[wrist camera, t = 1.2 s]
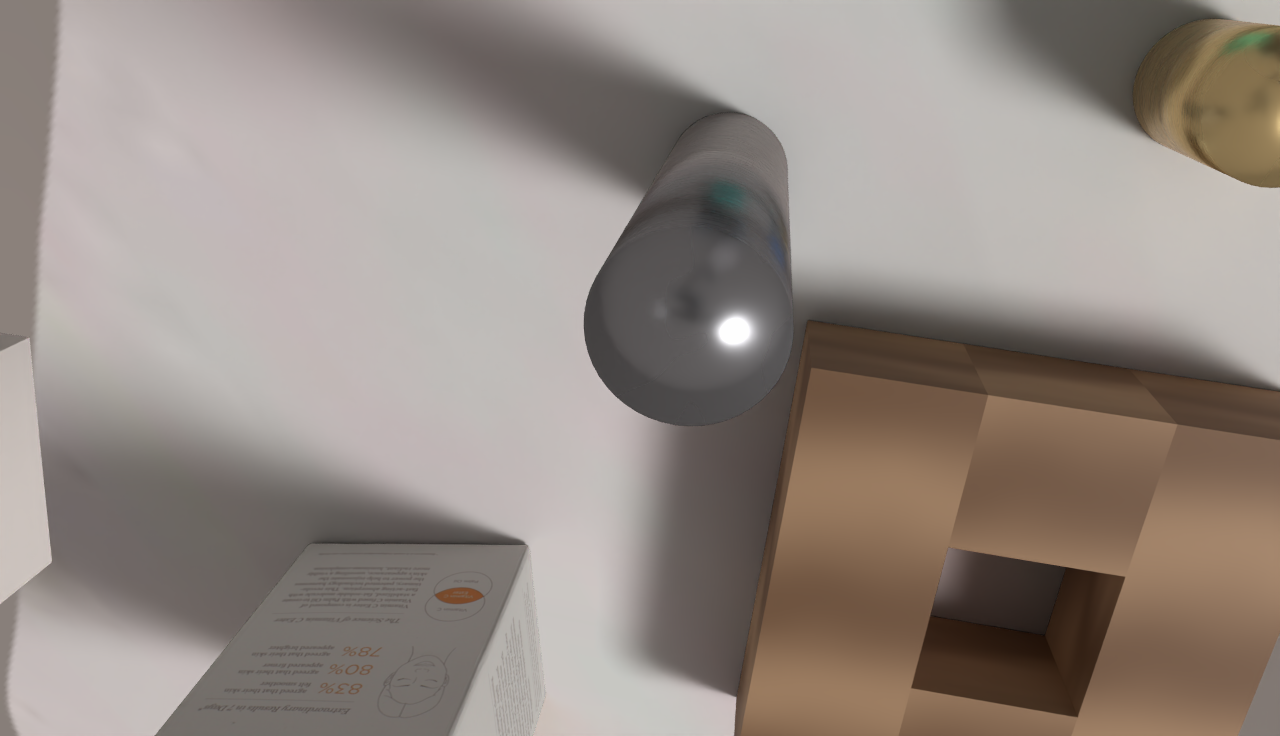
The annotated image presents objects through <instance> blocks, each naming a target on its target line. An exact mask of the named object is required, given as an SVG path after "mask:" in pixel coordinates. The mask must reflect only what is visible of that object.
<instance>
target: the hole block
mask: <svg viewBox="0 0 1280 736" xmlns="http://www.w3.org/2000/svg"><path fill="white" fill-rule="evenodd" d="M948 547H949V548H955V549H961V550H967V551H973V552H979V553H985V554H991V555H997V556H1003V557H1009V558H1015V559H1021V560H1027V561H1033V562H1039V563H1045V564H1051V565H1057V566H1063V567H1066V571H1065V574H1064V577H1063V580H1062V583H1061V586H1060V590H1059V593H1058V596H1057V599H1056V602H1055V605H1054V609H1053V612H1052V615H1051V618H1050V621H1049V624H1048V628H1047V631H1046V634H1045V636H1044V635H1039V634H1033V633H1027V632H1021V631H1015V630H1009V629H1003V628H998V627H992V626H986V625H980V624H974V623H968V622H962V621H957V620H951V619H945V618H939V617H933V616H930V614H931V611H932V607H933V603H934V599H935V595H936V592H937V588H938V584H939V580H940V576H941V573H942V569H943V565H944V561H945V557H946V554H947V550H948ZM1279 634H1280V392H1278V391H1272V390H1265V389H1258V388H1252V387H1245V386H1239V385H1232V384H1225V383H1219V382H1212V381H1206V380H1199V379H1192V378H1186V377H1179V376H1173V375H1166V374H1160V373H1153V372H1146V371H1140V370H1133V369H1127V368H1120V367H1113V366H1107V365H1100V364H1094V363H1087V362H1080V361H1074V360H1067V359H1061V358H1054V357H1047V356H1041V355H1034V354H1028V353H1021V352H1014V351H1008V350H1001V349H995V348H988V347H981V346H975V345H968V344H962V343H955V342H948V341H942V340H935V339H929V338H922V337H915V336H909V335H902V334H896V333H889V332H882V331H876V330H869V329H863V328H856V327H849V326H843V325H836V324H830V323H823V322H816V321H810V320H808V321H807V326H806V331H805V337H804V342H803V347H802V353H801V358H800V363H799V369H798V374H797V379H796V385H795V390H794V395H793V400H792V406H791V411H790V416H789V422H788V427H787V432H786V438H785V443H784V448H783V454H782V459H781V464H780V470H779V475H778V480H777V486H776V491H775V496H774V501H773V507H772V512H771V517H770V523H769V528H768V533H767V539H766V544H765V549H764V555H763V560H762V565H761V571H760V576H759V581H758V587H757V592H756V597H755V602H754V608H753V613H752V618H751V624H750V629H749V634H748V640H747V645H746V650H745V656H744V661H743V666H742V672H741V677H740V682H739V688H738V693H737V698H736V715H735V732H734V736H1238V734H1239V732H1240V730H1241V727H1242V725H1243V722H1244V720H1245V717H1246V715H1247V712H1248V710H1249V708H1250V705H1251V703H1252V700H1253V698H1254V695H1255V693H1256V690H1257V688H1258V686H1259V683H1260V681H1261V678H1262V676H1263V673H1264V671H1265V668H1266V666H1267V663H1268V661H1269V659H1270V656H1271V654H1272V651H1273V649H1274V646H1275V644H1276V641H1277V639H1278V637H1279Z"/></svg>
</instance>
